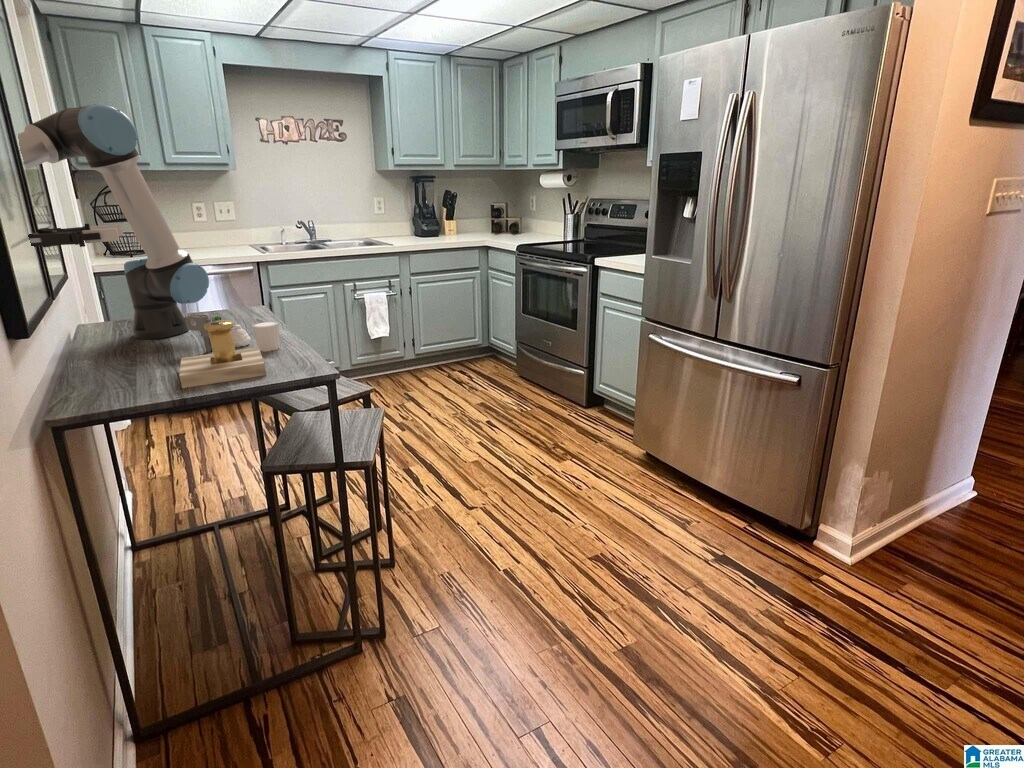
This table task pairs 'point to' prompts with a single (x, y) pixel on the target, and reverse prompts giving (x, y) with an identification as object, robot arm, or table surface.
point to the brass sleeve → (221, 340)
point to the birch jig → (221, 368)
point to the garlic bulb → (240, 336)
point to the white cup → (267, 335)
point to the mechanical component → (201, 327)
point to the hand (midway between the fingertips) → (120, 232)
